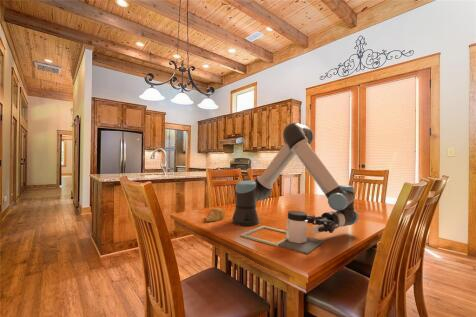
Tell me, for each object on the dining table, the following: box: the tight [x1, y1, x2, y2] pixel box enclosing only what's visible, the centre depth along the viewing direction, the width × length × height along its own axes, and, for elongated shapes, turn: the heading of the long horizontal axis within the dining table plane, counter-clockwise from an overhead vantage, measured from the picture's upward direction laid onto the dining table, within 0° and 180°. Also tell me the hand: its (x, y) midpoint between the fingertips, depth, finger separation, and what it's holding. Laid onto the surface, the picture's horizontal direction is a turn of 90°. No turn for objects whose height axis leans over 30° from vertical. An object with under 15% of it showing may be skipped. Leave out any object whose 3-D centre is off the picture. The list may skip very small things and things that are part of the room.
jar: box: [285, 210, 308, 243], centre depth 101 cm, size 9×8×12 cm
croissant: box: [205, 207, 226, 222], centre depth 139 cm, size 21×10×8 cm, turn 159°
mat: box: [279, 236, 325, 255], centre depth 97 cm, size 12×18×1 cm, turn 141°
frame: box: [240, 225, 288, 248], centre depth 108 cm, size 19×19×1 cm
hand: (299, 226), depth 96 cm, fingers open, 13 cm apart
